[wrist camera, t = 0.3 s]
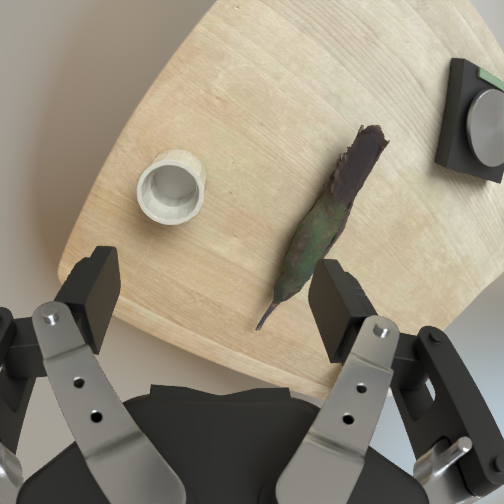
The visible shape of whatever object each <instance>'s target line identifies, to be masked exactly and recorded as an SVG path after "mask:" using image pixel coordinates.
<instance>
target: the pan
mask: <svg viewBox="0 0 504 504" xmlns="http://www.w3.org/2000/svg"><path fill="white" fill-rule="evenodd" d="M466 127H467V138H468V143H469V146H470V149H471V151H472V153H473V155H474V156H475V158H476V159H477V160H478V161H479V162H481V163H483V164H485V165H487V166H490V167H495V166H498V165H500V164H502V163H503V162H504V93H502V92H501V91H499V90H495V89H485V90H482V91H481V92H479V93H478V94H477V95H476V96H475V98H474V99H473V101H472V103H471V105H470V108H469V111H468V116H467V126H466Z"/></svg>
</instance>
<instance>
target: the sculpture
mask: <svg viewBox="0 0 504 504" xmlns="http://www.w3.org/2000/svg"><path fill="white" fill-rule="evenodd" d="M389 141H390V140H389ZM389 141H386V140H385V139H384V133H383V132H382V130H381V127H380V126H379V125H375V126H374V125H371V126H368V127H367V128H366V129H364V127H363V125H361V127H360V129H359V131H358V134H357V136H356V139H355V140H354V142H353V144H352V146H351V147H347V149H348V150H347V153H344V154H343V155H344V156H343V158H342V160H341V154H340V156H339V158H338V159H337V162H336V169H335V170H334V171H333V173H332V175H331V176H330V180H329V181H328V182H326V183H325V185H324V189H323V191H322V193H321V195H320V197H319V199H318V201H317V202H316V204H315V206H314V207H313V209H312V210H311V212H310V213H308V214H307V215H306V217H305V219H304V221H302V222H301V223H300V224H299V226H298V229H297V232H296V235H295V236H294V238H293V243H292V245H291V248H290V249H289V251H288V253H287V255H286V257H285V260H284V270H283V272H282V274H281V275H280V277H279V278H278V280H277V282H276V283H275V284H274V299H273V301H272V303H271V305H270V306H269V308H268V310H267V311H266V313H265V314H264V316H263V317H262V319H261V320H260V322H259V324H258V325H257V328H256V331H257V330H260V329H261V327H262V325H263V323H264V322H265V320H266V318H267V317H268V316H269V315H270V313H271V312H272V311H273V310H274V309H275V308H276V307H277V306H278V305H279V304H280V303H281V302H283V301H286V300H288V299H289V298H291V297H292V296H293V295H295V294H296V293H298V292H300V290H301V289H302V287H303V286H304V284H305V283H306V282H307V281H308V280H309V279H310V277H311V275H312V274H313V273H314V270H315V266H316V263H317V261H318V259H323V258H324V257H325V256H326V254H327V253H328V252H329V250H330V248H331V247H332V246H333V244H334V243H335V242H336V240H337V239H338V238H339V236H340V235H341V233H342V232H343V230H344V228H345V225H346V222H347V219H348V216H349V214H350V210H351V208H352V206H353V202H354V199H355V197H356V195H357V193H358V191H359V190H360V189H361V188H362V186H363V184H364V182H365V180H366V178H367V177H368V175H369V173H370V172H371V170H372V169H373V167H374V165H375V163H376V161H377V160H378V159H379V157H380V154H381V153H382V151H383V150H384V149H385V147H386V146H387V144H388V143H389Z"/></svg>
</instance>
